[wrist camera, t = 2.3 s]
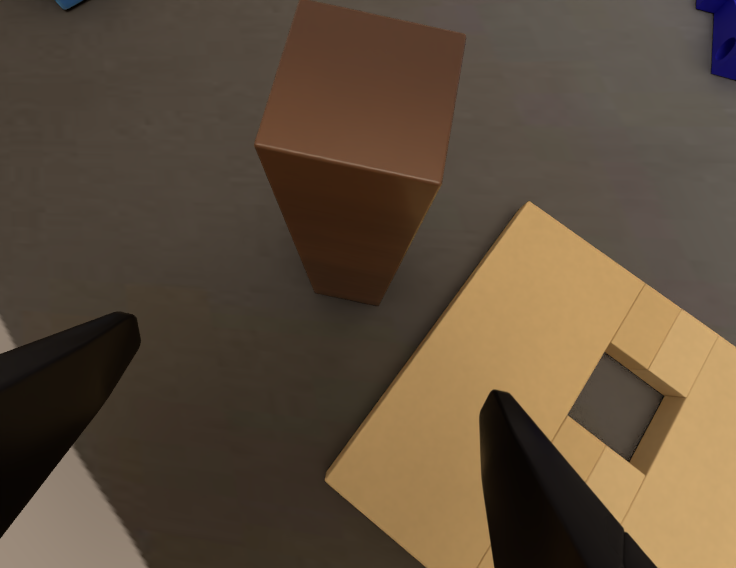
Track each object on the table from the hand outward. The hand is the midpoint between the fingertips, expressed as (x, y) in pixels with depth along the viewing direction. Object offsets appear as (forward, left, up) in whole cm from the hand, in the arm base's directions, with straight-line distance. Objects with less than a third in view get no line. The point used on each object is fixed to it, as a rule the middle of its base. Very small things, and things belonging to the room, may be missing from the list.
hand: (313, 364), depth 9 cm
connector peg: (+5, +3, -12) cm, 14 cm away
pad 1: (+5, -9, -12) cm, 16 cm away
